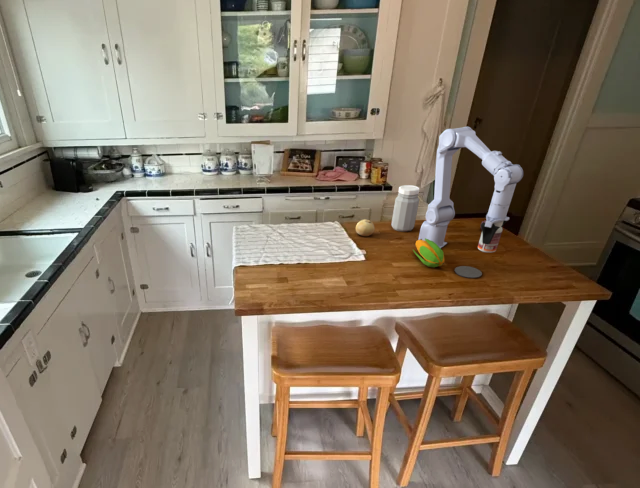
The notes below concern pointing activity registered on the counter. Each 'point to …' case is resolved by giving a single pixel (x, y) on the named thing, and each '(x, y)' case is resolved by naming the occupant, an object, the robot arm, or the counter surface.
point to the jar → (405, 208)
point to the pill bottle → (494, 242)
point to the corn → (430, 253)
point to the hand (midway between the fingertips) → (489, 240)
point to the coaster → (468, 272)
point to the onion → (365, 227)
